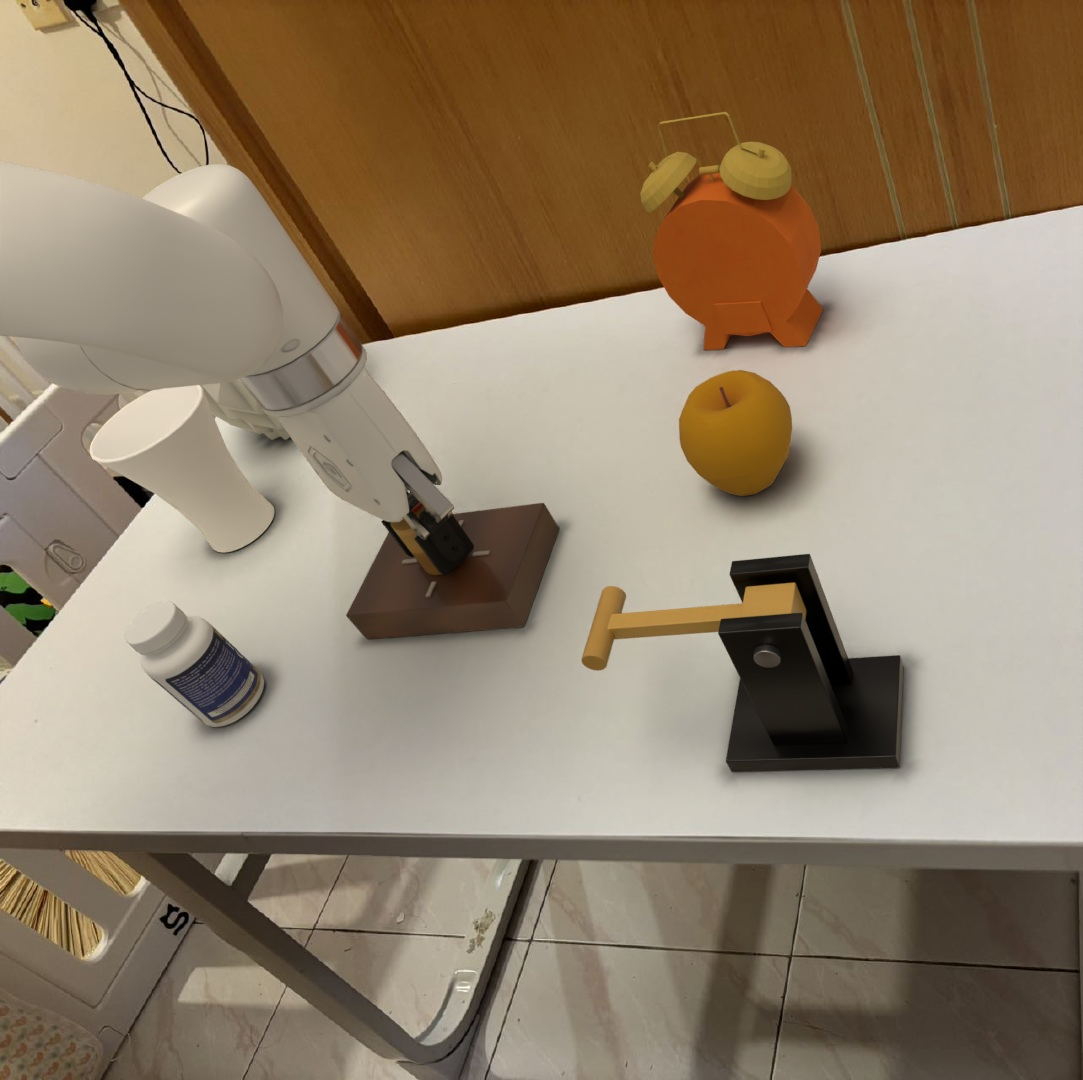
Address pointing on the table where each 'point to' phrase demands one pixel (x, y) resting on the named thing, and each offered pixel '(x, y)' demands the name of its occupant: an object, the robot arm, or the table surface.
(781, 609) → the door handle
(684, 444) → the apple
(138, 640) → the pill bottle
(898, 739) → the handle bracket
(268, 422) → the vase
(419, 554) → the dial knob
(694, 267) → the alarm clock
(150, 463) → the cup
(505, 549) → the brown dial base
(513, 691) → the table surface
